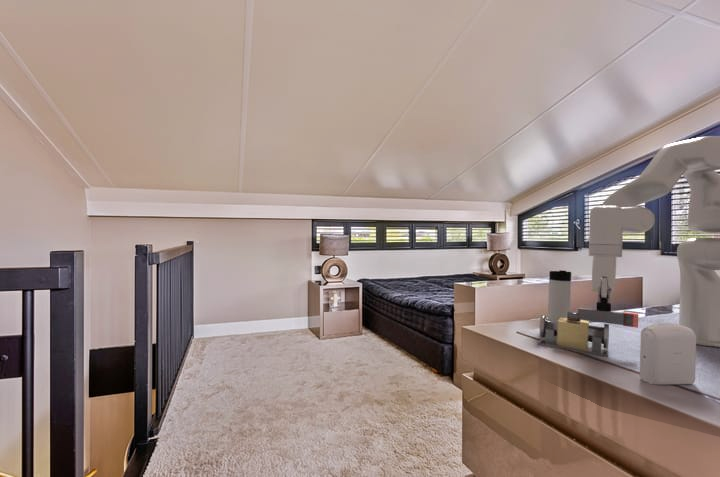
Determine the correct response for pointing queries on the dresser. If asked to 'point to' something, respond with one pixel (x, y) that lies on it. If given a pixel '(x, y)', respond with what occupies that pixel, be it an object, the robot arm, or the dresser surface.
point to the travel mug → (559, 294)
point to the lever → (604, 317)
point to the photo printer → (668, 354)
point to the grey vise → (574, 336)
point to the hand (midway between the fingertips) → (603, 317)
